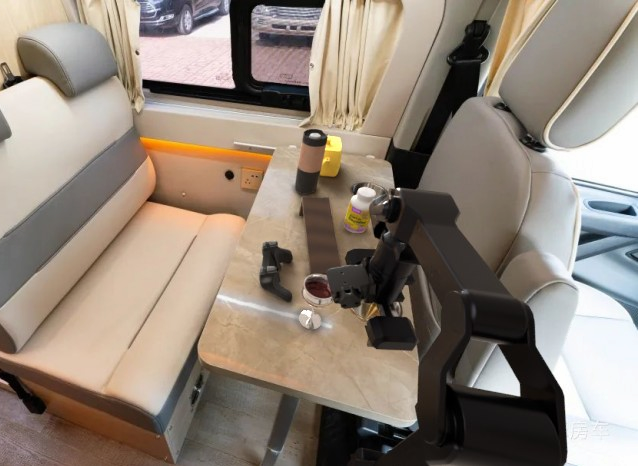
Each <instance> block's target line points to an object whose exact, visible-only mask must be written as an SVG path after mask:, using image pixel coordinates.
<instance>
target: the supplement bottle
mask: <svg viewBox="0 0 638 466" xmlns="http://www.w3.org/2000/svg"><path fill="white" fill-rule="evenodd" d="M376 194H377V193H376V191H375V190H374V189H372V188H371V187H367V186H362V187H360V188H358V190H357V192H356V194H354V195H353V196H351V199H350V201H349V205H348V207H347V210H346V214H345V215H344V216H345V217H344V220H343V227H344V229H345V230H346V231H347V232H350V233H353V234H362V233H364V232H365V231H366V230H367V228H368V225H369V224H370V222H371V218H370V213H369V205H370V203H371V202H372V201H373V200H374V199H376V198H375V197H376Z"/></svg>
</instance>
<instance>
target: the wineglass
mask: <svg viewBox="0 0 638 466" xmlns="http://www.w3.org/2000/svg"><path fill="white" fill-rule="evenodd" d="M301 296H302V299H303V300H304V302H305V303H306V305H308V306H310V307H311V310H303V311H302V312H300V314H299V317H298V320H299V323H300V324H301V325H302V326H303V328H305V329H308V330H317V329H318V328H320V326H321V325H322V318H321V316H320V314H318V313H317V312H315V310H316V309H321V310H323V309H325V308H327V307H329V306H331V305H332V304H333V303H334V301H333V299H332V296H331V291H330V287H329V283H328V279H327V275H322V274H310V275H308V276H306V277H305V279H304V280H303V285H302V288H301Z"/></svg>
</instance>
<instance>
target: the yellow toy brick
mask: <svg viewBox="0 0 638 466" xmlns="http://www.w3.org/2000/svg"><path fill="white" fill-rule="evenodd" d="M342 147H343V146H342V140H341V137H339V136H331V135H328V139H327V143H326V148H325V153H324V158H323V162H322V167H321V171H320V175H319V176H322V177H334V178H335V177H336V176H337V175H338V173H339V171H340V167H341V163H342V153H343V151H342V150H343V148H342Z"/></svg>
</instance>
